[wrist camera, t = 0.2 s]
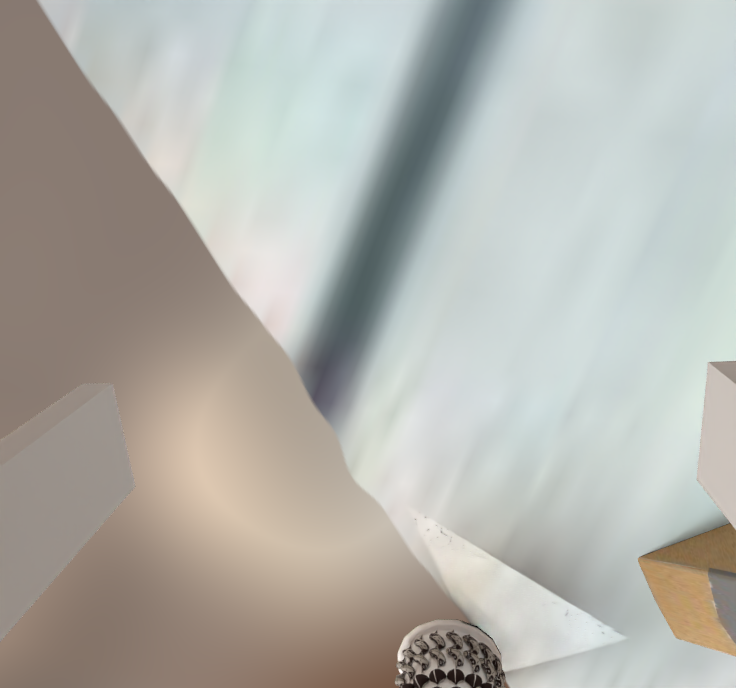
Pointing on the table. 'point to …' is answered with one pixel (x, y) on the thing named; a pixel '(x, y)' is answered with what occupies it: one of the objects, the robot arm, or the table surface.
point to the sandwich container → (697, 587)
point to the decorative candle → (449, 657)
